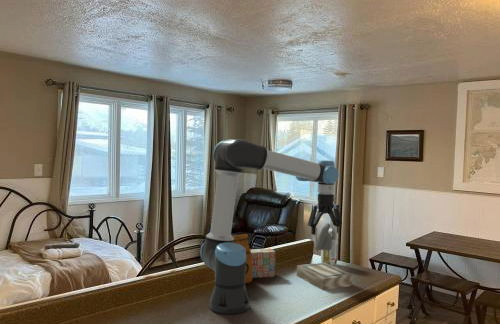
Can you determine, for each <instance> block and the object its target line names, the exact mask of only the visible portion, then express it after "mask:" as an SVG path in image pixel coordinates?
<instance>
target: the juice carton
mask: <svg viewBox="0 0 500 324" xmlns="http://www.w3.org/2000/svg"><path fill="white" fill-rule="evenodd" d="M328 232H329V234H330V236H331V237H332V228H331V227H330V228H329V231H328ZM338 252H339V232H338V233H337V240H332V248H331V250H320V263H327V264H329V265H331V266H333V267H335V265H337V264H338V255H339V253H338Z"/></svg>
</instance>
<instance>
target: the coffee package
mask: <svg viewBox="0 0 500 324" xmlns="http://www.w3.org/2000/svg"><path fill="white" fill-rule="evenodd" d="M232 237H233V238H234V242H233V243H235V244H240V245H242V246H243V247H244V248H245V250H246V273H245V284H249V283H252V281H253V278H252V261H253V260H252V254H251V250H252V249H251V248H250V244H249V243H248V238H249V235H248V233H245V234H244V233H243V234H238V235H232Z"/></svg>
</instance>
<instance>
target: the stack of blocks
mask: <svg viewBox="0 0 500 324" xmlns="http://www.w3.org/2000/svg"><path fill="white" fill-rule="evenodd" d="M250 250H251V254H252V260H253V261H252V279H255V278H257V277H259V278H272V277H274V278H275V276H276V275H275V272H276V271H275V270H276V251H275V250H274V249H272V248H257V249H250Z"/></svg>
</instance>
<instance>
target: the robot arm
mask: <svg viewBox="0 0 500 324" xmlns="http://www.w3.org/2000/svg"><path fill="white" fill-rule="evenodd" d="M212 152H213V153H212V154H213V155H212V157H213V160H214V163H215V164H214V171H215V173H216V174H217V177H216V184H215V192H214V201H213V209H212V214H211V215H212V217H211V224H210V231H209V233H207V234H206V236H205V240H204V243H202V245H201V247H200V259H201V260H202V262H203V263H204V265H205V267H208V268H209V269H211V270H212V271H213V272H214V287H213V291H212V294H211V296H210V299H209V309H210V310H211V311H213V312H215V313H218V314H224V315H235V314H241V313H242V314H243V313H245V312H246V311H248V310H249V309H250V299H249V295H248V293H247V292H248V291H247V288H246V283H245V273H246V250H245V248H244V247H243V246H242V245H240V244H235V243H233V242H234V238H233V237H232V236H233V235H232V227H233V220H234V213H235V205H236V198H237V197H236V196H237V188H238V183H239V182H238V180H239V177H240V176H241V175H243V170H244V169H252V170H256V171H261V170H263V169H264V170H269V171H271V172H277V173H281V174H284V175H289V176H293V177H295V179H296V180H297V181H299V182H312V183H317V192H318V193H317V204H316V205H315V204H312V205H311V211H310V215H309V219H308V222H307V226H309V227H311V233H310V234H311V235H312V239H311V240H312V242H314V243H317V240H318V227H317V226H318V224H319V223H320V220H321V218H322V216H323V215H324V214H328V215H329V218H330V220H331V222H332V223H333V225H332V227H331V229H332V239H333V240H337V233H338V234H339V227H340V226H341V225H342V224H343V221H342V218H341V212H340V205H339V204H337V203H334V202H335V194H334V193H335V183H336V182H338V179H339V174H340V173H339V170H338V168H337V167H336V166H335V162H334V161H333V160H319V161H318V162H314V161H312V160H311V161H310V160H307V159H302V158H300V157H299V158H298V157H296V156H291V155H288V154H283V153H280V152H276V151H272V150H268V148H267V147H266V146H264V145H260V144H257V143H256V142H255V143H254V142H252V141H249V140H246V139H242V138H235V139H233V138H232V139H229V138H227V139H223V140H221V141H220V142H218V143H217V144H216V145H215V147H214V149H213V151H212Z"/></svg>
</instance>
